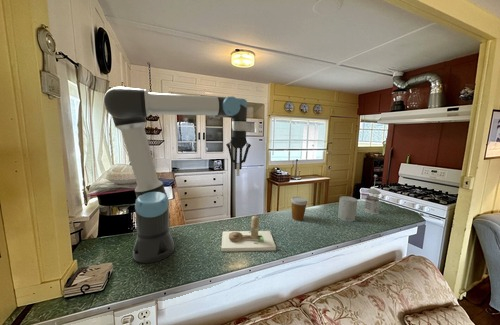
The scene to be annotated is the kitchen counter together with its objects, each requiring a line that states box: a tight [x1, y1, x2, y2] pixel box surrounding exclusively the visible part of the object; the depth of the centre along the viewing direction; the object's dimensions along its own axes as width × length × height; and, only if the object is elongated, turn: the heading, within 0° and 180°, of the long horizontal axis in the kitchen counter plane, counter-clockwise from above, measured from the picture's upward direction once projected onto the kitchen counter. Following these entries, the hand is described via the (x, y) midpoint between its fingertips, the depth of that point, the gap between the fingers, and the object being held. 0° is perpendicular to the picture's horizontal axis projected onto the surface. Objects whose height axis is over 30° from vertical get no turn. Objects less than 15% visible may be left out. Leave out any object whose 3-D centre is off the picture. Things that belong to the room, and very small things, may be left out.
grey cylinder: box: [337, 195, 358, 223], centre depth 120 cm, size 10×10×12 cm
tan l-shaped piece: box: [229, 215, 262, 241], centre depth 90 cm, size 15×6×10 cm, turn 89°
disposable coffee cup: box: [290, 196, 308, 222], centre depth 117 cm, size 10×10×12 cm
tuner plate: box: [220, 230, 277, 252], centre depth 91 cm, size 23×14×2 cm, turn 95°
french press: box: [362, 174, 382, 215], centre depth 130 cm, size 10×12×25 cm
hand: (237, 175), depth 106 cm, fingers closed
